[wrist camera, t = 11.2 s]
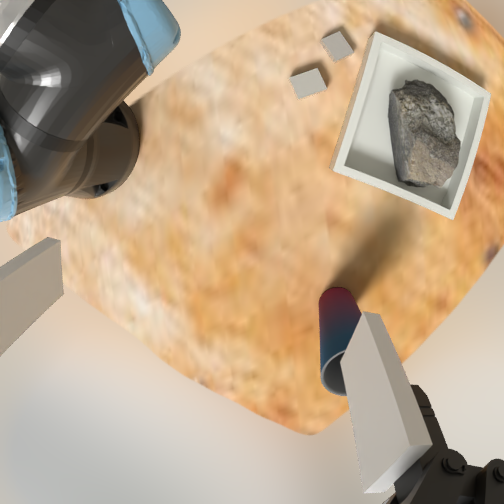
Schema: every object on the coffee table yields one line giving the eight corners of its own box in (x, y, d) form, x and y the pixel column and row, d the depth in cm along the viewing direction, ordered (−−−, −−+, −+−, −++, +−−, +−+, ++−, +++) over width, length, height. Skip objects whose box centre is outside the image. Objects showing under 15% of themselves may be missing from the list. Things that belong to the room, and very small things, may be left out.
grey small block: (298, 101, 36) (298, 99, 34) (288, 80, 35) (288, 77, 33) (325, 91, 35) (327, 88, 33) (316, 71, 34) (317, 67, 32)
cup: (357, 277, 42) (385, 341, 28) (361, 318, 45) (384, 389, 31) (308, 285, 44) (316, 354, 30) (315, 327, 46) (323, 400, 32)
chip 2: (319, 43, 33) (321, 39, 31) (337, 35, 32) (339, 31, 30) (333, 63, 34) (336, 60, 32) (351, 55, 33) (354, 52, 31)
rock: (380, 82, 33) (398, 74, 26) (440, 81, 31) (465, 75, 25) (395, 189, 37) (415, 200, 31) (452, 182, 36) (478, 192, 30)
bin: (328, 167, 38) (332, 170, 35) (368, 39, 31) (375, 31, 28) (441, 213, 38) (453, 220, 35) (477, 95, 32) (491, 93, 28)
